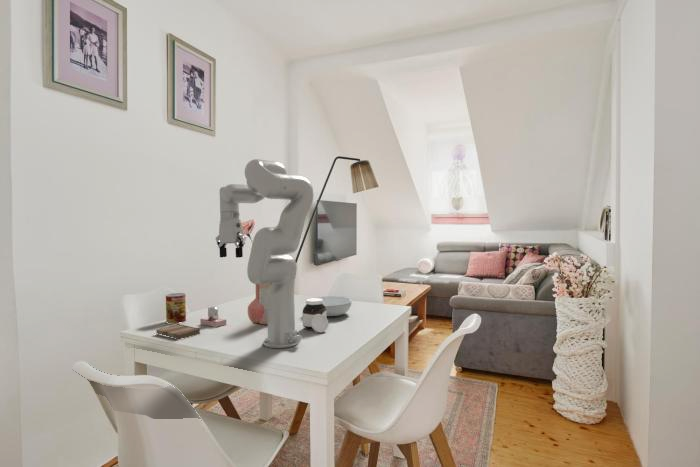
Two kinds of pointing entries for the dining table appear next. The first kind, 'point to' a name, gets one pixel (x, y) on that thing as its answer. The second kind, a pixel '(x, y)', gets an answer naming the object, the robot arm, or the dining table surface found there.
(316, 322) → the spread jar
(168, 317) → the canned food
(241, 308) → the dining table surface
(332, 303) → the serving bowl
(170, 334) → the brown flat block
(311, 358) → the dining table surface
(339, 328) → the dining table surface
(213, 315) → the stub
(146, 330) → the dining table surface
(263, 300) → the cracker box
